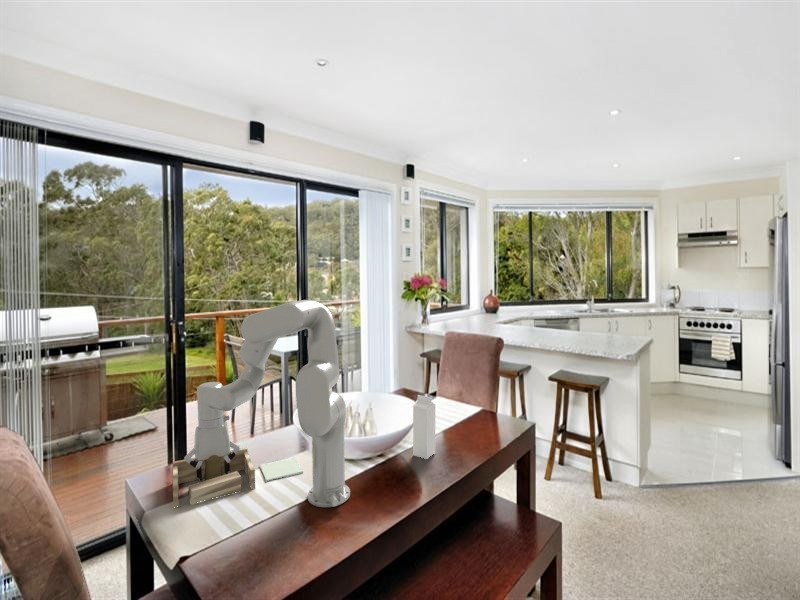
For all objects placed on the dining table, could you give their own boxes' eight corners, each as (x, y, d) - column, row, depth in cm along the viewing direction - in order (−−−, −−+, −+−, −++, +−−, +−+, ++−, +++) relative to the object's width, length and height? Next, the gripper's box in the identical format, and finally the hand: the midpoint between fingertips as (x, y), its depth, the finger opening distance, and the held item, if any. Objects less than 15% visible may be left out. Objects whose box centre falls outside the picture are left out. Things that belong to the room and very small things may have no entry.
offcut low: (241, 493, 127) (241, 485, 127) (190, 506, 120) (190, 498, 119) (239, 487, 130) (238, 479, 130) (189, 500, 123) (189, 492, 123)
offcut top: (241, 483, 127) (241, 476, 127) (191, 499, 119) (191, 491, 119) (237, 478, 131) (237, 471, 130) (188, 493, 122) (188, 485, 122)
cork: (216, 490, 127) (215, 456, 127) (199, 488, 129) (197, 454, 128) (228, 480, 133) (227, 447, 132) (211, 478, 134) (210, 446, 134)
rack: (255, 488, 128) (254, 466, 128) (173, 508, 118) (172, 484, 117) (247, 466, 143) (246, 447, 142) (174, 483, 132) (173, 461, 131)
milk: (422, 449, 156) (422, 392, 154) (435, 454, 152) (435, 395, 151) (412, 455, 151) (412, 396, 149) (426, 459, 147) (426, 399, 146)
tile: (303, 473, 138) (303, 471, 138) (266, 481, 132) (266, 480, 132) (294, 458, 149) (294, 457, 149) (259, 466, 143) (259, 464, 143)
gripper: (239, 413, 137) (240, 465, 138) (180, 423, 129) (182, 478, 130) (242, 420, 130) (244, 475, 132) (180, 431, 122) (182, 489, 123)
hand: (213, 476), depth 131 cm, fingers open, 6 cm apart
